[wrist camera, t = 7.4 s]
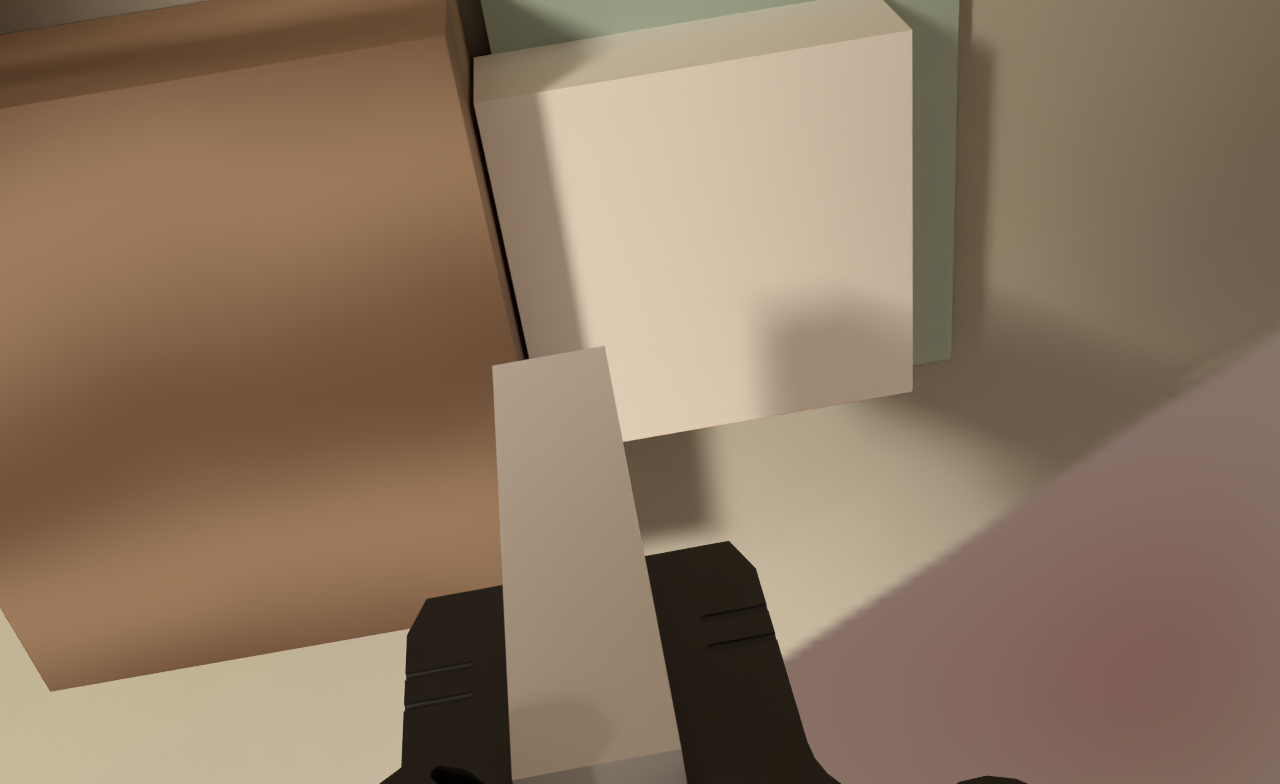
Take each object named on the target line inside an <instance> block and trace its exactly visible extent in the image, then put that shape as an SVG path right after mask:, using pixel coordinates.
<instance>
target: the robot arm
mask: <svg viewBox="0 0 1280 784" xmlns="http://www.w3.org/2000/svg"><path fill="white" fill-rule="evenodd" d="M492 370H493V391H494V412H495V433H496V454H497V475H498V496H499V517H500V538H501V559H502V580H503V585H499V586H494V587H488V588H483V589H477V590H472V591H466V592H461V593H455V594H450V595H444V596H439V597H433V598H428V599H426V601H425V602H424V604H423V606H422V608H421V610H420V612H419V614H418V616H417V618H416V619H415V621H414V623H413V625H412V627H411V629H410V631H409V633H408V634H407V649H406V672H405V673H406V680H405V695H404V705H405V711H404V718H403V742H402V765H401V768H400V769H399V770H397V771H396V772H395V773H393V774H392V775H391V776H389V777H388V778H386V779H385V780H384V781H382V782H381V783H380V784H841V783H840V782H838V781H837V780H835V779H834V778H833V777H831V776H830V775H829V774H827V772H826V771H825V770H824V769H823V768H822V766H821V765H820V764H819V763H818V762H817V760H816V759H815V757H814V756H813V753H812V751H811V749H810V747H809V744H808V742H807V739H806V736H805V733H804V729H803V726H802V722H801V719H800V716H799V712H798V709H797V706H796V702H795V699H794V695H793V692H792V689H791V685H790V682H789V678H788V675H787V672H786V668H785V665H784V662H783V658H782V655H781V652H780V648H779V645H778V641H777V640H776V637H775V631H774V628H773V625H772V621H771V618H770V615H769V611H768V610H767V605H766V601H765V598H764V594H763V591H762V588H761V584H760V581H759V578H758V574H757V571H756V568H755V567H754V566H753V565H752V564H751V563H750V562H749V561H748V560H747V559H746V558H745V557H744V556H743V555H742V554H741V553H740V552H739V551H738V550H737V549H736V548H735V547H734V546H733V545H732V544H731V542H730V541H725V542H720V543H714V544H709V545H703V546H698V547H692V548H687V549H682V550H676V551H671V552H665V553H660V554H654V555H649V556H645V555H644V550H643V545H642V539H641V534H640V529H639V524H638V518H637V513H636V508H635V503H634V497H633V492H632V487H631V482H630V476H629V471H628V466H627V461H626V455H625V450H624V445H623V440H622V434H621V429H620V424H619V418H618V413H617V408H616V403H615V397H614V392H613V387H612V382H611V376H610V371H609V366H608V361H607V355H606V350H605V346H601V347H595V348H589V349H584V350H578V351H572V352H567V353H561V354H555V355H550V356H544V357H538V358H533V359H527V360H521V361H516V362H510V363H505V364H499V365H493V366H492ZM957 784H1027V783H1025V782H1022V781H1020V780H1017V779H1012V778H1003V777H994V776H983V777H979V778H974V779H970V780H966V781H961V782H959V783H957Z"/></svg>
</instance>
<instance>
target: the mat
mask: <svg viewBox="0 0 1280 784" xmlns="http://www.w3.org/2000/svg"><path fill="white" fill-rule="evenodd" d="M810 1H816V0H481V5H482V10H483V15H484V20H485V25H486V30H487V35H488V39H489V44H490V49H491V54H498V53H504V52H510V51H516V50H522V49H528V48H534V47H540V46H546V45H552V44H558V43H564V42H570V41H576V40H582V39H588V38H594V37H600V36H606V35H612V34H618V33H624V32H630V31H636V30H642V29H648V28H654V27H660V26H666V25H672V24H678V23H684V22H690V21H696V20H702V19H708V18H714V17H720V16H726V15H732V14H738V13H744V12H750V11H756V10H762V9H768V8H774V7H780V6H786V5H792V4H798V3H804V2H810ZM884 1H885V2H886V3H887V4H888V6H889V7H890V8H891V9H892V10H893V11H894V12H895V13H896V14H897V15H898V16H899V17H900V18H901V19H902V20H903V21H904V22H905V23H906V24H907V25H908V26H909V27H910V28H911V29H912V202H913V366H914V365H920V364H926V363H932V362H937V361H943V360H949V359H952V317H953V270H954V224H955V177H956V131H957V84H958V38H959V0H884Z"/></svg>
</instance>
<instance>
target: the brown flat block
mask: <svg viewBox="0 0 1280 784" xmlns="http://www.w3.org/2000/svg"><path fill="white" fill-rule="evenodd" d="M527 359H529V355H528V350H527V346H526V341H525V337H524V332H523V328H522V323H521V318H520V314H519V309H518V305H517V300H516V295H515V291H514V286H513V282H512V277H511V272H510V268H509V263H508V259H507V254H506V250H505V245H504V240H503V236H502V231H501V227H500V222H499V217H498V213H497V208H496V204H495V199H494V194H493V190H492V185H491V181H490V176H489V172H488V167H487V162H486V158H485V153H484V149H483V144H482V139H481V135H480V130H479V126H478V121H477V116H476V112H475V107H474V74H473V69H472V64H471V60H470V55H469V50H468V46H467V41H466V36H465V32H464V27H463V22H462V18H461V13H460V8H459V3H458V0H209V1H203V2H197V3H191V4H185V5H179V6H173V7H167V8H160V9H154V10H148V11H142V12H136V13H130V14H124V15H118V16H112V17H106V18H99V19H93V20H87V21H81V22H75V23H69V24H63V25H57V26H51V27H45V28H38V29H32V30H26V31H20V32H14V33H8V34H2V35H0V608H1V610H2V612H3V613H4V615H5V617H6V618H7V620H8V622H9V623H10V625H11V627H12V628H13V630H14V632H15V633H16V635H17V637H18V638H19V640H20V642H21V643H22V645H23V647H24V648H25V650H26V652H27V653H28V655H29V657H30V658H31V660H32V662H33V663H34V665H35V667H36V668H37V670H38V672H39V673H40V675H41V677H42V678H43V680H44V682H45V683H46V685H47V687H48V688H49V690H50V692H51V691H57V690H62V689H68V688H74V687H79V686H85V685H91V684H97V683H102V682H108V681H114V680H119V679H125V678H131V677H136V676H142V675H148V674H154V673H159V672H165V671H171V670H176V669H182V668H188V667H193V666H199V665H205V664H211V663H216V662H222V661H228V660H233V659H239V658H245V657H250V656H256V655H262V654H268V653H273V652H279V651H285V650H290V649H296V648H302V647H307V646H313V645H319V644H324V643H330V642H336V641H342V640H347V639H353V638H359V637H364V636H370V635H376V634H381V633H387V632H393V631H399V630H404V629H410V628H411V627H412V625H413V623H414V621H415V619H416V618H417V616H418V614H419V612H420V610H421V608H422V606H423V604H424V602H425V601H426V599H428V598H433V597H439V596H444V595H450V594H455V593H461V592H466V591H472V590H477V589H483V588H488V587H494V586H499V585H503V580H502V559H501V538H500V517H499V496H498V475H497V454H496V433H495V412H494V391H493V370H492V366H493V365H499V364H505V363H510V362H516V361H521V360H527Z"/></svg>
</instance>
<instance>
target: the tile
mask: <svg viewBox="0 0 1280 784" xmlns="http://www.w3.org/2000/svg"><path fill="white" fill-rule="evenodd" d="M474 107H475V112H476V116H477V121H478V126H479V130H480V135H481V139H482V144H483V149H484V153H485V158H486V162H487V167H488V172H489V176H490V181H491V185H492V190H493V194H494V199H495V204H496V208H497V213H498V217H499V222H500V227H501V231H502V236H503V240H504V245H505V250H506V254H507V259H508V263H509V268H510V272H511V277H512V282H513V286H514V291H515V295H516V300H517V305H518V309H519V314H520V318H521V323H522V328H523V332H524V337H525V341H526V346H527V350H528V355H529V359H533V358H538V357H544V356H550V355H555V354H561V353H567V352H572V351H578V350H584V349H589V348H595V347H601V346H605V350H606V355H607V361H608V366H609V371H610V376H611V382H612V387H613V392H614V397H615V403H616V408H617V413H618V418H619V424H620V429H621V434H622V440H623V442H625V441H631V440H637V439H643V438H648V437H654V436H660V435H666V434H672V433H677V432H683V431H689V430H695V429H700V428H706V427H712V426H718V425H723V424H729V423H735V422H741V421H746V420H752V419H758V418H764V417H769V416H775V415H781V414H787V413H793V412H798V411H804V410H810V409H816V408H821V407H827V406H833V405H839V404H844V403H850V402H856V401H862V400H867V399H873V398H879V397H885V396H890V395H896V394H902V393H908V392H913V202H912V29H911V28H910V27H909V26H908V25H907V24H906V23H905V22H904V21H903V20H902V19H901V18H900V17H899V16H898V15H897V14H896V13H895V12H894V11H893V10H892V9H891V8H890V7H889V6H888V4H887V3H886V2H885V1H884V0H816V1H810V2H804V3H798V4H792V5H786V6H780V7H774V8H768V9H762V10H756V11H750V12H744V13H738V14H732V15H726V16H720V17H714V18H708V19H702V20H696V21H690V22H684V23H678V24H672V25H666V26H660V27H654V28H648V29H642V30H636V31H630V32H624V33H618V34H612V35H606V36H600V37H594V38H588V39H582V40H576V41H570V42H564V43H558V44H552V45H546V46H540V47H534V48H528V49H522V50H516V51H510V52H504V53H498V54H492V55H486V56H480V57H474Z"/></svg>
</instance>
